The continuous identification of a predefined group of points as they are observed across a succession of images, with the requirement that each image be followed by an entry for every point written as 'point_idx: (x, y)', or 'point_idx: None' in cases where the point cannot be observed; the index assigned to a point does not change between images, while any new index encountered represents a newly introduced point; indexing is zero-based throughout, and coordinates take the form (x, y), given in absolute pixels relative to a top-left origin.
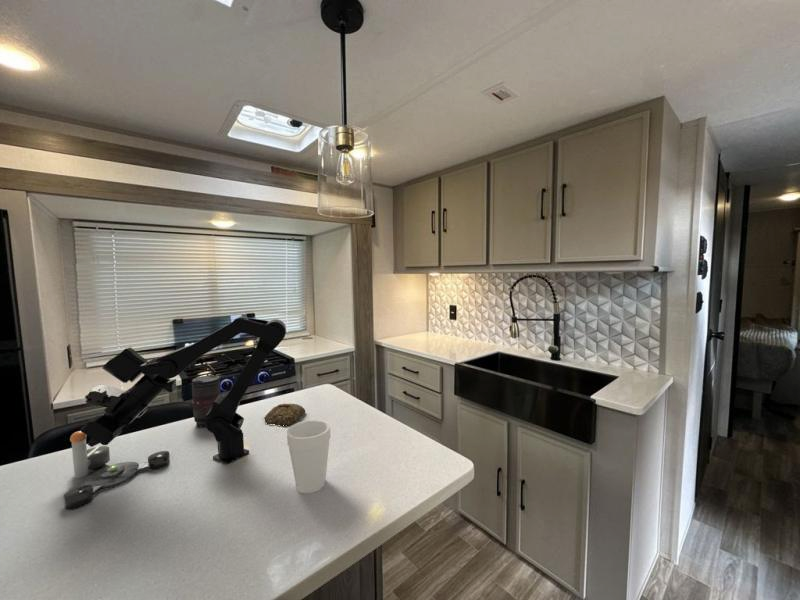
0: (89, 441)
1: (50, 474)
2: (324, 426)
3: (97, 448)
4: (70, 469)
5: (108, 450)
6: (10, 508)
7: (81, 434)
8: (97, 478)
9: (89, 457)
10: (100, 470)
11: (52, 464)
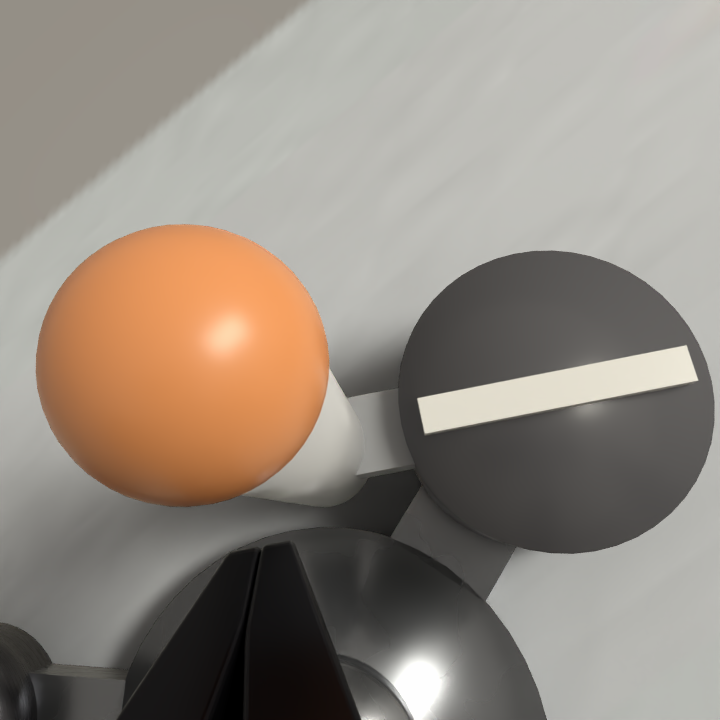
0: (193, 605)
1: (465, 124)
2: None
3: (626, 391)
4: (529, 216)
5: (612, 543)
6: (54, 233)
7: (102, 459)
8: None
9: (416, 452)
10: (406, 569)
11: (624, 10)
